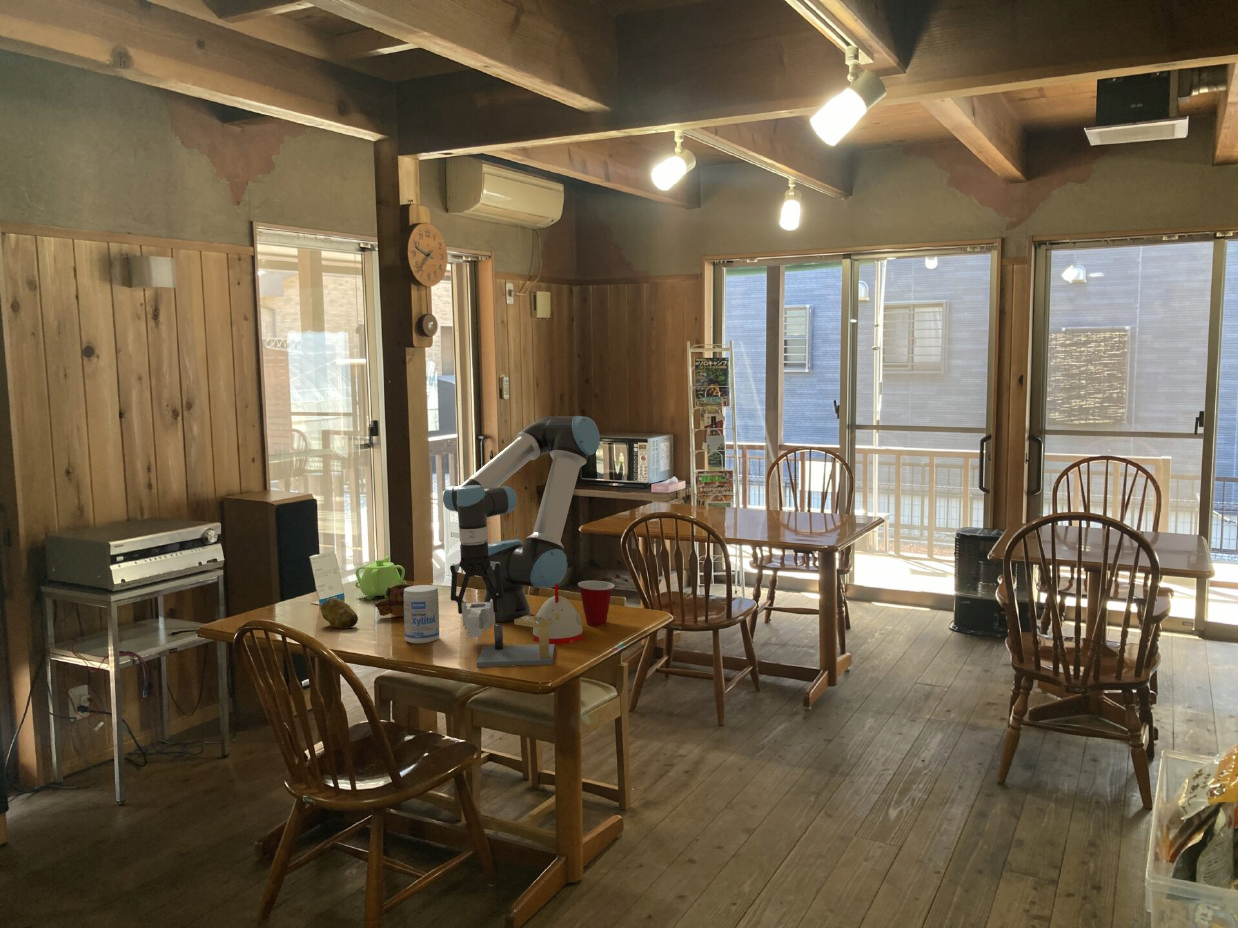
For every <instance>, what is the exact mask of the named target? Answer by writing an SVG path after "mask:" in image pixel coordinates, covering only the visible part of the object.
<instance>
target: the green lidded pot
mask: <svg viewBox="0 0 1238 928" xmlns="http://www.w3.org/2000/svg"><path fill="white" fill-rule="evenodd" d="M389 558H390V556H389V554H388V555H387V554H386V555H385V556H384V558H383V559H381V558H379V559H375V562H373V563H370V564H366V565H361V566H359V567H357V568H356V569H355V576H356V578H357V580H358V581H356V582H355V585H354V586H355V588H356V589H360V591H361V593H362V594H363V595H364V596H367V597H366V598H365V600H366V601H367V600H370V601H371V600H374V598H375V597H377V596H381V597H383V598H384V599H388V596H387V595H386V590H387V588H388V587H390V588H391V587H393V586H395V585H397V584H408V583H407V581H406V580H404V578H405V575H406V574H405V572H406V571H405V570H406V569H405V568H404V567H403V566H402V565H399V564H397V565H395V564H394V563H393V562H391V561H390V560H389ZM389 561H390V562H389ZM361 569H362V570H363V573H362V575H360V570H361ZM398 569H400V570H401V575H400V573H399V571H398Z"/></svg>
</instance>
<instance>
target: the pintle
mask: <svg viewBox="0 0 1238 928" xmlns="http://www.w3.org/2000/svg"><path fill="white" fill-rule="evenodd" d="M493 631H494V632H493V633H494V635H493V636H494V637H493V639H494V646H495V650H502V649H503V646H504V633H503V624H501V623H494V625H493Z"/></svg>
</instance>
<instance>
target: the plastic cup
mask: <svg viewBox="0 0 1238 928" xmlns="http://www.w3.org/2000/svg"><path fill="white" fill-rule="evenodd" d="M577 586H578V588H579V591H580V592H579V593H580V597H581V601H582V602H581V603H582V608H583V612H584V613H583V614H584V617H585V621H586V624H587V626H594V627H595V626H596V627H597V626H599V627H600V626H604V625H605V624H607V621H608V613H609V609H610V602H611V595H612V592H613V589H614V588H615V584H614V583H613V582H608V581H602V580H584V581H579V582H578V583H577Z"/></svg>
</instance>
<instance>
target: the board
mask: <svg viewBox="0 0 1238 928" xmlns="http://www.w3.org/2000/svg"><path fill="white" fill-rule="evenodd" d="M555 646H556V644H549V658H540V656H539V644H513V645H508V644H507V645H503V649H502V650H495V645H484V646H482V648H481V651H480V653H479V656H478V658H477V660H476V668H480V667H481V668H486V667H488V668H489V667H491V668H492V667H515V666H516V665H522V666H548V665H553V662H554V656H555V649H556V647H555ZM512 665H514V666H512Z"/></svg>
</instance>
